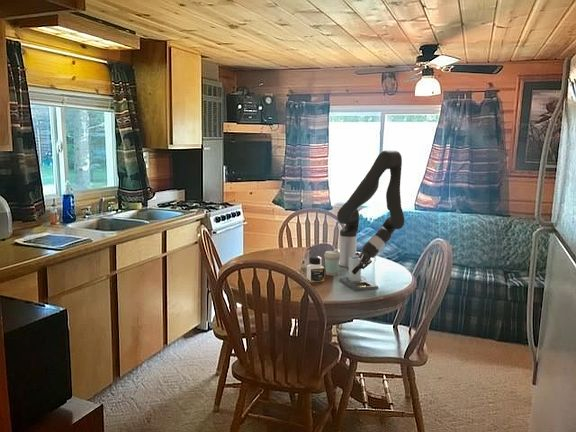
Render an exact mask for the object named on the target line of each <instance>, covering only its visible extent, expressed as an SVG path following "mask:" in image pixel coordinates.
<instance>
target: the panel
mask: <svg viewBox="0 0 576 432" xmlns="http://www.w3.org/2000/svg"><path fill="white" fill-rule="evenodd" d="M339 282H341V283H342V284H344V285H345V286H347V287H349V288H350V289H351V290H352V291H355V292H360V291H369V290H370V291H371V290H379V285H377V284H376V283H374V282H372V281H371V280H369V279H367V278H365V277H363V276H362V275H361V280H360V281H354V282H351V281H349V280H348V276H347V277H339Z"/></svg>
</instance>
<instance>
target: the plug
mask: <svg viewBox="0 0 576 432" xmlns="http://www.w3.org/2000/svg"><path fill="white" fill-rule="evenodd" d="M360 260H361V259H360V258H358V256H357V255H356V256H352V257H351V258H349V270H348V269H347V270H348V271H347V272H348V274H347V277H348V280H349V281H351V282H354V281H360V280H361V276H362V275H361V274H362V272H361V271H362V269H360V270H359V271H358V272H357V273H356V274H353V273H352V270H353V269H354V268H355V267H356V266H357V265H358V264H359V261H360Z"/></svg>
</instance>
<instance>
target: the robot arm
mask: <svg viewBox="0 0 576 432" xmlns="http://www.w3.org/2000/svg"><path fill="white" fill-rule="evenodd" d="M402 158H403V157H402V155H401V153H400V152H399V151H398V150H390V149H389V150H383V151H381V152H380V153H379V154H378V155H377V157H376V159H375V160H374V162H373V164H372V166H371V168H370V170H369V171H368V172H367V174H365V177H364V178H363V179H362V180H361V181H360V183H359V184H358V185H357V187H356V189H355V190H354V192H353V193H352V194H351V195H350V197H349V198H348V200H347V201H345V203H344V204H343V205H342V206H341V207H340V208H339V210H338V211H337V213H336V214H337V215H336V216H337V217H336V219H337V221H338V223H340V224H343V225H345V226H344V227H342V228H341V229H340V231H339V253H340V259H339V266H340V267H345V268H347V270H349V258H351V257H352V256H356V255H357V256H358V258H360V259H361V260H360V261H359V264H358V265H357V266H356V267H355V268H354V269H353V270H352V273H353V274H356V273H357V272H358V271H359V270H360V269H361V270H362V269H363V270H364V269H366V268H367V267H368V266H369V265H370V264H371V263H372V262H373V261H372V260H371V258H372V259H374V258H375V257H376V256H377V255H378V254H379V253H380V251H381V250H382V249H383V248H384V247H385V245H386V244H387V243H388V242H389V240H390V239H391V238H392V234H393V233H394V232H395V231H396V230H400V229H402V228H403V227H404V226H405V216H404V211H403V208H402V199H401V179H402V178H401V177H402V166H403V159H402ZM386 170H389V173H390V179H389V182H388V186H387V188H386V194H385V198H386V199H385V200H386V209H387V210H388V211H389V215H390V216H388V217H386V220H384V222H383V224H382V225H381V227H380V228H379V229H378V230H377V231H376V232H375V233H374V234H373V235H372V236H371V238H370V239H369V240H368V241H367V242H366V243H365V244H364V245H363V246H362V247H361V248H362V251H361V252H360V253H359V251H358V252H357V233H358V230H359V222H360V213H359V209H358V208H360V207H361V206H362V205H364V204H366V203H367V202H368V201H370V200H371V198H372V197H373V196H374V195H375V193H376V192H377V191H378V188H379V183H380V178H381V177H382V175H383V173H385V172H386Z"/></svg>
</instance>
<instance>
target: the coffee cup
mask: <svg viewBox="0 0 576 432" xmlns="http://www.w3.org/2000/svg"><path fill="white" fill-rule="evenodd" d="M323 254H324V255H323V256H324V263H325V272H326V273H325V274H326V275H327V276H332V277H333V276H337V275H338V274H339V273H338V272H339V266H340V265H339V259H340V251H339V250H338V251H336V250H327V251H325V252H324V253H323Z"/></svg>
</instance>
